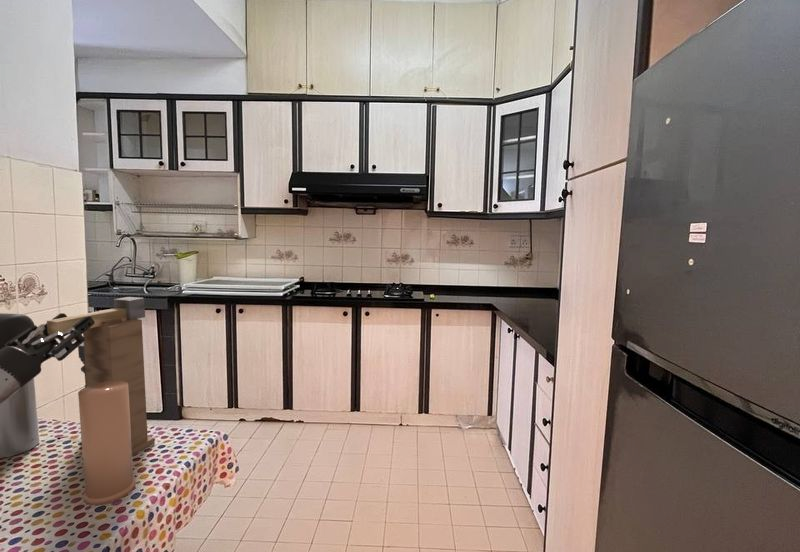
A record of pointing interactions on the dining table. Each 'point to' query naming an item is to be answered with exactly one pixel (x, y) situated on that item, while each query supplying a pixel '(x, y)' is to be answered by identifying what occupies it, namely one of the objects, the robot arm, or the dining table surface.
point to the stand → (120, 369)
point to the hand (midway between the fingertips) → (78, 317)
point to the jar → (106, 442)
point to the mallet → (102, 315)
